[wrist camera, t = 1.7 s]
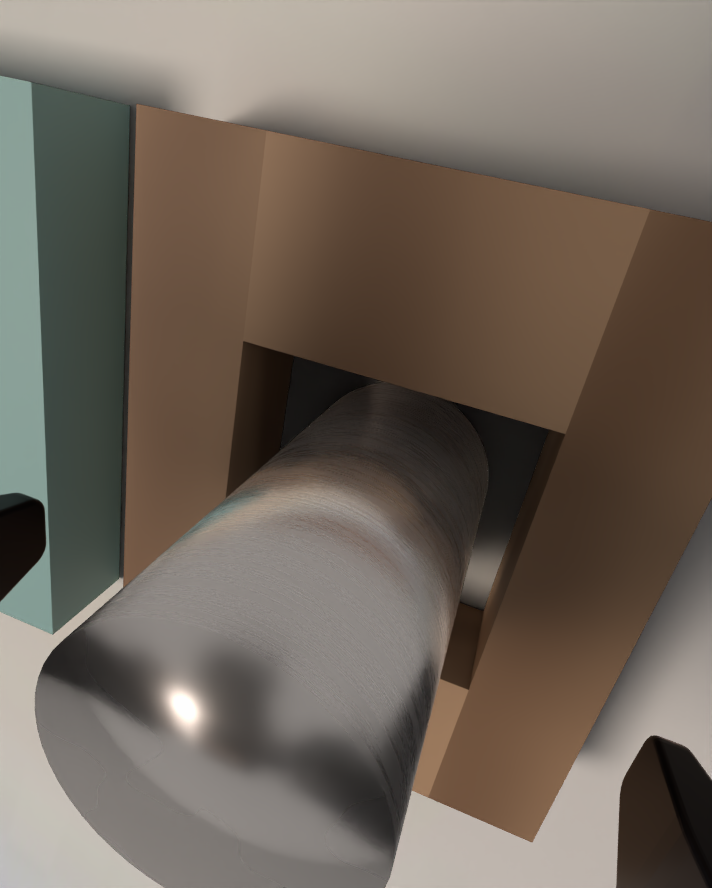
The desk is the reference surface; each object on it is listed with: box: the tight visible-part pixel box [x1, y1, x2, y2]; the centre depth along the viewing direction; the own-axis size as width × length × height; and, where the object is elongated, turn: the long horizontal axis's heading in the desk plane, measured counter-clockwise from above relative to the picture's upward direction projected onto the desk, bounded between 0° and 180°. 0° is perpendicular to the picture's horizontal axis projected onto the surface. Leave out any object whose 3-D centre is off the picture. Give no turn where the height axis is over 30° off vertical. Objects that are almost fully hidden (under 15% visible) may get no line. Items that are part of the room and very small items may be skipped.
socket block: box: [123, 104, 712, 842], centre depth 12 cm, size 10×12×2 cm
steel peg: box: [35, 383, 489, 888], centre depth 9 cm, size 4×4×8 cm
